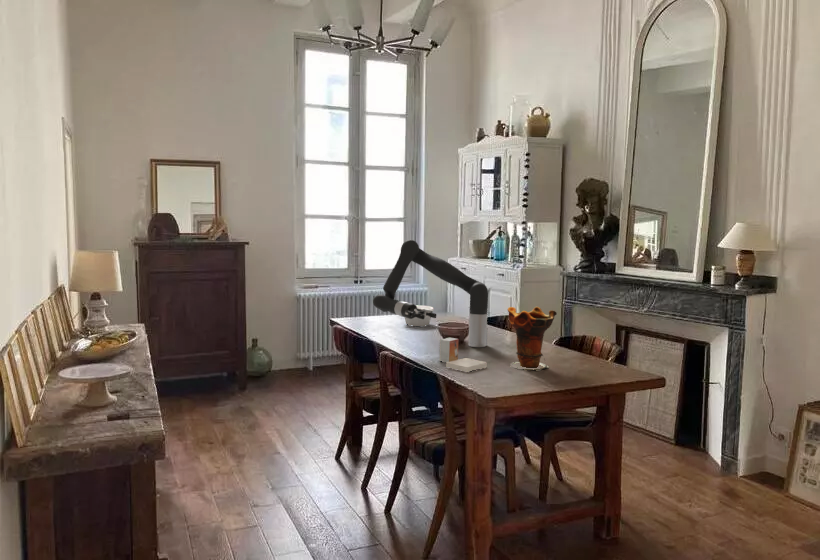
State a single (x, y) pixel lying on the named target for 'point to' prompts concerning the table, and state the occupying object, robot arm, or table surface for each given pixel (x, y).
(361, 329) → the table surface
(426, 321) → the bowl
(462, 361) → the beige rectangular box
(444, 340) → the small box
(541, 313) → the decorative vase
